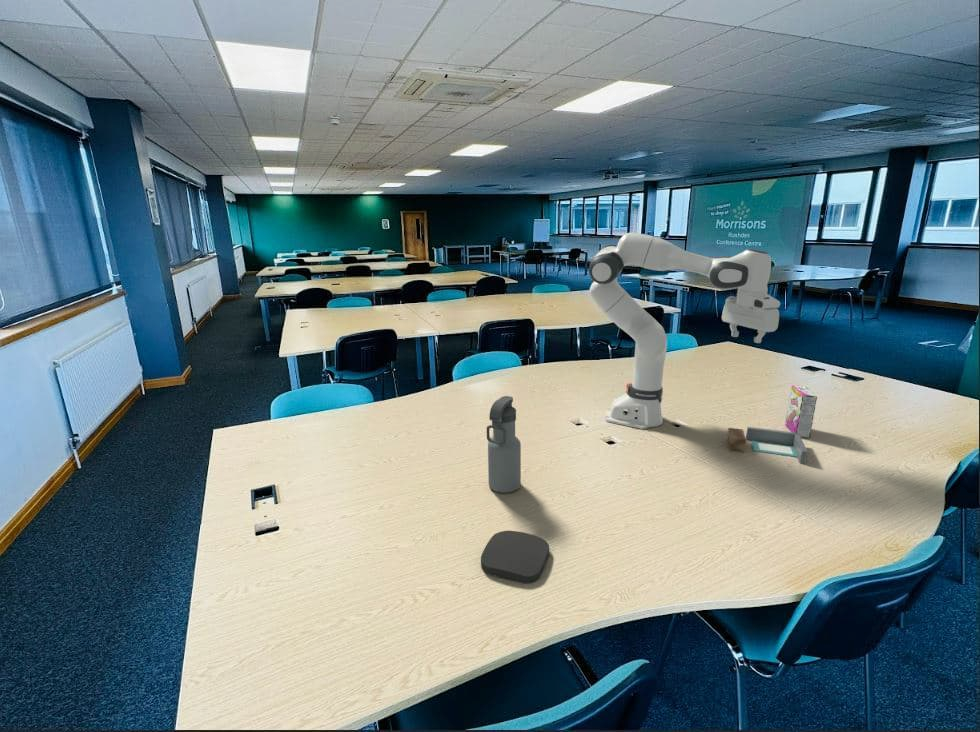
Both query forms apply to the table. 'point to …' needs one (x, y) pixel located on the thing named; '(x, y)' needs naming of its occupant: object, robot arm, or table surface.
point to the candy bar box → (801, 410)
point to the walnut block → (736, 440)
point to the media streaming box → (515, 556)
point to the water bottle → (503, 448)
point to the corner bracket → (777, 443)
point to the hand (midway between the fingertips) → (745, 339)
